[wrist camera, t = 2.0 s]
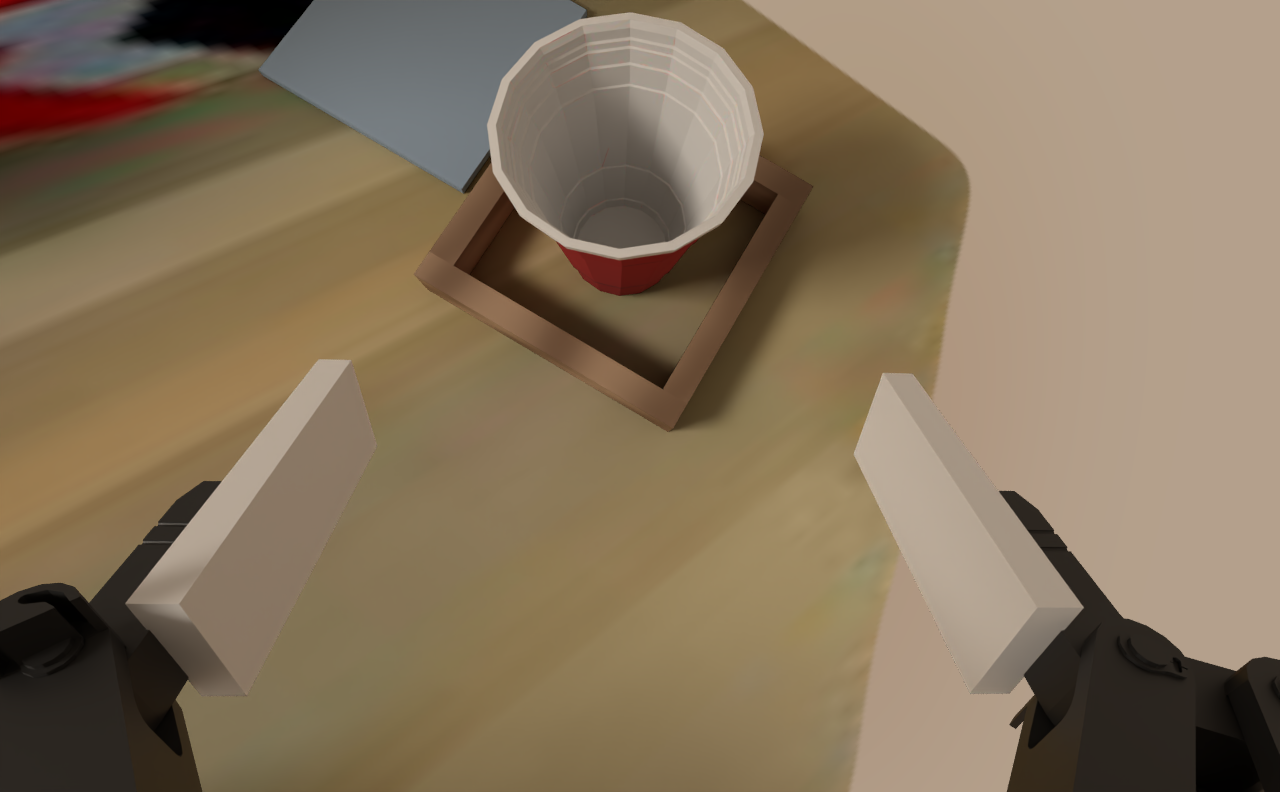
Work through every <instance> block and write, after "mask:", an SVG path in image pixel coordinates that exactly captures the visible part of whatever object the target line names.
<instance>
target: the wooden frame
mask: <svg viewBox="0 0 1280 792" xmlns="http://www.w3.org/2000/svg"><path fill="white" fill-rule="evenodd" d="M812 188H813V186H812V185H810V184H809V183H807V182H805V181H804V180H802V179H800V178H798V177H797V176H795V175H793V174H791V173H790V172H788V171H786V170H784V169H783V168H781V167H779V166H778V165H776V164H774V163H772V162H771V161H769V160H767V159H765V158H764V157H762V156H760V155H759V158H758V162H757V167H756V172H755V176H754V181H753V183H752V184H751V185H750V187H749V188H748V189H747V191H746V192H745V193H744V195H743V196H742V197H741V199H740V200H742V201H744V202H746V203H747V204H749V205H751V206H752V207H754V208H756V209H758V210H759V211H761V212H763V213H765V214H766V215H765V217H764V218H763V220H762V222H761V224H760V225H759V227H758V229H757V230H756V232H755V234H754V235H753V237H752V239H751V240H750V242H749V244H748V246H747V247H746V249H745V251H744V252H743V254H742V256H741V257H740V259H739V261H738V262H737V264H736V266H735V268H734V269H733V271H732V273H731V274H730V276H729V278H728V279H727V281H726V283H725V284H724V286H723V288H722V290H721V291H720V293H719V295H718V296H717V298H716V300H715V301H714V303H713V305H712V306H711V308H710V310H709V312H708V313H707V315H706V317H705V318H704V320H703V322H702V323H701V325H700V327H699V328H698V330H697V332H696V334H695V335H694V337H693V339H692V340H691V342H690V344H689V345H688V347H687V349H686V350H685V352H684V354H683V356H682V357H681V359H680V361H679V362H678V364H677V366H676V367H675V369H674V371H673V372H672V374H671V376H670V378H669V379H668V381H667V383H666V384H665V386H664V388H663V389H661V388H660V387H658V386H656V385H655V384H653V383H651V382H649V381H648V380H646V379H644V378H643V377H641V376H639V375H638V374H636V373H634V372H633V371H631V370H629V369H627V368H626V367H624V366H622V365H621V364H619V363H617V362H616V361H614V360H612V359H611V358H609V357H607V356H605V355H604V354H602V353H600V352H599V351H597V350H595V349H594V348H592V347H590V346H589V345H587V344H585V343H583V342H582V341H580V340H578V339H577V338H575V337H573V336H572V335H570V334H568V333H567V332H565V331H563V330H561V329H560V328H558V327H556V326H555V325H553V324H551V323H550V322H548V321H546V320H545V319H543V318H541V317H540V316H538V315H536V314H534V313H533V312H531V311H529V310H528V309H526V308H524V307H523V306H521V305H519V304H518V303H516V302H514V301H512V300H511V299H509V298H507V297H506V296H504V295H502V294H501V293H499V292H497V291H496V290H494V289H492V288H490V287H489V286H487V285H485V284H484V283H482V282H480V281H479V280H477V279H475V278H474V277H472V276H470V273H471V272H472V270H473V269H474V267H475V266H476V264H477V263H478V261H479V260H480V258H481V257H482V255H483V254H484V252H485V251H486V249H487V248H488V246H489V245H490V244H491V242H492V241H493V239H494V238H495V236H496V235H497V233H498V232H499V230H500V229H501V227H502V226H503V224H504V223H505V221H506V220H507V218H508V217H509V215H510V214H511V212H512V211H513V209H514V208H515V207H514V205H513V204H512V202H511V201H510V199H509V198H508V196H507V194H506V193H505V191H504V190H503V188H502V186H501V185H500V183H499V182H498V180H497V178H496V177H495V175H494V174H493V169H492V162H491V163H490V165H489V166H488V168H487V169H486V171H485V172H484V173H483V175H482V176H481V178H480V179H479V181H478V182H477V184H476V185H475V186H474V188H473V189H472V191H471V192H470V194H469V195H468V197H467V198H466V199H465V201H464V202H463V204H462V205H461V207H460V208H459V209H458V211H457V212H456V214H455V215H454V217H453V218H452V220H451V221H450V222H449V224H448V225H447V227H446V228H445V230H444V231H443V233H442V234H441V235H440V237H439V238H438V240H437V241H436V243H435V244H434V246H433V247H432V248H431V250H430V251H429V253H428V254H427V256H426V257H425V258H424V260H423V261H422V263H421V264H420V266H419V267H418V269H417V270H416V271H415V273H414V275H415V276H416V277H417V279H418V280H419V281H420V282H421V283H422V284H423V285H424V286H425V287H426V288H427V289H428V290H429V291H431V292H433V293H435V294H436V295H438V296H440V297H441V298H443V299H445V300H446V301H448V302H450V303H451V304H453V305H455V306H456V307H458V308H460V309H462V310H463V311H465V312H467V313H468V314H470V315H472V316H473V317H475V318H477V319H478V320H480V321H482V322H483V323H485V324H487V325H489V326H490V327H492V328H494V329H495V330H497V331H499V332H500V333H502V334H504V335H505V336H507V337H509V338H510V339H512V340H514V341H516V342H517V343H519V344H521V345H522V346H524V347H526V348H527V349H529V350H531V351H532V352H534V353H536V354H537V355H539V356H541V357H543V358H544V359H546V360H548V361H549V362H551V363H553V364H554V365H556V366H558V367H559V368H561V369H563V370H564V371H566V372H568V373H570V374H571V375H573V376H575V377H576V378H578V379H580V380H581V381H583V382H585V383H586V384H588V385H590V386H591V387H593V388H595V389H596V390H598V391H600V392H602V393H603V394H605V395H607V396H608V397H610V398H612V399H613V400H615V401H617V402H618V403H620V404H622V405H623V406H625V407H627V408H629V409H630V410H632V411H634V412H635V413H637V414H639V415H640V416H642V417H644V418H645V419H647V420H649V421H650V422H652V423H654V424H656V425H657V426H659V427H661V428H662V429H664V430H666V431H667V432H669V431H670V430H671V429H673V428H674V426H675V424H676V422H677V421H678V419H679V417H680V415H681V414H682V412H683V410H684V409H685V407H686V405H687V403H688V402H689V400H690V398H691V397H692V395H693V393H694V391H695V390H696V388H697V386H698V384H699V383H700V381H701V379H702V378H703V376H704V374H705V372H706V371H707V369H708V367H709V366H710V364H711V362H712V360H713V359H714V357H715V355H716V353H717V352H718V350H719V348H720V347H721V345H722V343H723V341H724V340H725V338H726V336H727V334H728V333H729V331H730V329H731V328H732V326H733V324H734V322H735V321H736V319H737V317H738V316H739V314H740V312H741V310H742V309H743V307H744V305H745V303H746V302H747V300H748V298H749V297H750V295H751V293H752V291H753V290H754V288H755V286H756V285H757V283H758V281H759V279H760V278H761V276H762V274H763V272H764V271H765V269H766V267H767V266H768V264H769V262H770V260H771V259H772V257H773V255H774V254H775V252H776V250H777V248H778V247H779V245H780V243H781V241H782V240H783V238H784V236H785V235H786V233H787V231H788V229H789V228H790V226H791V224H792V222H793V221H794V219H795V217H796V216H797V214H798V212H799V210H800V209H801V207H802V205H803V204H804V202H805V200H806V198H807V197H808V195H809V193H810V191H811V190H812Z"/></svg>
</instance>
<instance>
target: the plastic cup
mask: <svg viewBox="0 0 1280 792" xmlns="http://www.w3.org/2000/svg"><path fill="white" fill-rule="evenodd" d="M487 129H488V137H489V145H490V153H491V161H492V169H493V174H494V175H495V177H496V178H497V180H498V182H499V183H500V185H501V186H502V188H503V190H504V191H505V193H506V194H507V196H508V198H509V199H510V201H511V202H512V204H513V205H514V207H515V209H516V210H517V212H518V213H519V215H520V216H521V217H522V218H523V219H525V220H526V221H528V222H529V223H530V224H532V225H533V226H535V227H536V228H538V229H539V230H541V231H542V232H544V233H545V234H547V235H548V236H549V237H551V238H552V239H554V240H555V241H556V242H557V243H558V245H559V246H560V248H561V249H562V251H563V252H564V254H565V255H566V257H567V258H568V259H569V261H570V262H571V264H572V265H573V267H574V268H576V269H577V270H578V271H579V273H580V275H581V276H582V278H583V279H584V280H586V281H587V282H588V283H590V284H591V285H593V286H594V287H595V288H597V289H598V290H600V291H603V292H607V293H611V294H615V295H619V296H622V295H629V294H636V293H641V292H642V291H644V290H646V289H648V288H649V287H651V286H653V285H655V284H656V283H658V282H659V281H660V279H661V278H662V277H663V276H664V275H665V274H667V273H669V271H670V270H671V269H672V268H673V266H674V265H675V264H676V263H677V262H678V260H679V259H680V258H681V257H682V255H683V254H684V253H685V252H686V251H687V249H688V248H689V247H690V246H691V245H692V244H694V243H695V242H696V241H697V240H698V239H699V237H701V236H703V235H704V234H706V233H708V232H710V231H711V230H713V229H715V228H717V227H718V226H719V225H720V224H721V223H722V222H723V221H724V220H725V219H726V217H727V216H728V215H729V213H730V212H731V211H732V209H733V208H734V207H735V205H736V204H737V203H738V201H739V200H740V199H741V197H742V196H743V195H744V193H745V192H746V191H747V189H748V188H749V187H750V185H751V184H752V183H753V181H754V176H755V172H756V167H757V162H758V158H759V153H760V149H761V144H762V139H763V135H764V133H763V129H762V124H761V120H760V116H759V111H758V107H757V103H756V99H755V94H754V90H753V87H752V85H751V84H750V83H749V81H748V80H747V79H746V77H745V76H744V75H743V73H742V72H741V71H740V69H739V68H738V67H737V66H736V64H735V63H734V62H733V60H732V59H731V58H730V56H729V55H728V54H727V52H726V51H725V50H724V48H722V47H720V46H719V45H717V44H715V43H714V42H712V41H711V40H709V39H707V38H706V37H704V36H702V35H701V34H699V33H697V32H696V31H694V30H692V29H691V28H689V27H688V26H686V25H684V24H683V23H681V22H676V21H671V20H666V19H661V18H656V17H651V16H646V15H641V14H637V13H632V12H629V13H621V14H614V15H607V16H599V17H592V18H585V19H579V20H577V21H575V22H573V23H571V24H569V25H567V26H565V27H563V28H561V29H559V30H558V31H556V32H554V33H552V34H550V35H548V36H546V37H544V38H542V39H540V40H538V41H536V42H534V43H533V45H532V46H531V47H530V48H529V49H528V50H527V51H526V53H525V54H524V55H523V56H522V57H521V58H520V59H519V60H518V62H517V63H516V64H515V65H514V66H513V67H512V68H511V69H510V71H509V72H508V73H507V74H506V75H505V76H504V77H503V79H502V80H501V83H500V87H499V90H498V93H497V96H496V99H495V102H494V105H493V108H492V111H491V114H490V117H489V120H488V123H487Z"/></svg>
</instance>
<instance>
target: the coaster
mask: <svg viewBox="0 0 1280 792" xmlns="http://www.w3.org/2000/svg"><path fill="white" fill-rule="evenodd" d="M586 17H587V10H586V9H584V8H583V7H581V6H579V5H577V4H576V3H574V2H572V1H570V0H314V1H313V2H312V3H311V4H310V6H309V7H308V8H307V9H306V11H305V12H304V13H303V14H302V16H301V17H300V18H299V19H298V21H297V22H296V23H295V25H294V26H293V27H292V28H291V30H290V31H289V32H288V33H287V35H286V36H285V37H284V38H283V40H282V41H281V42H280V43H279V45H278V46H277V47H276V48H275V50H274V51H273V52H272V53H271V55H270V56H269V57H268V58H267V60H266V61H265V62H264V63H263V65H262V66H261V67H260V68H259V71H260V73H261V74H262V75H263V76H264V77H266V78H268V79H269V80H271V81H273V82H275V83H276V84H278V85H280V86H281V87H283V88H285V89H287V90H288V91H290V92H292V93H293V94H295V95H297V96H298V97H300V98H302V99H304V100H305V101H307V102H309V103H310V104H312V105H314V106H315V107H317V108H319V109H321V110H322V111H324V112H326V113H327V114H329V115H331V116H332V117H334V118H336V119H338V120H339V121H341V122H343V123H344V124H346V125H348V126H350V127H351V128H353V129H355V130H356V131H358V132H360V133H361V134H363V135H365V136H367V137H368V138H370V139H372V140H373V141H375V142H377V143H378V144H380V145H382V146H384V147H385V148H387V149H389V150H390V151H392V152H394V153H395V154H397V155H399V156H401V157H402V158H404V159H406V160H407V161H409V162H411V163H412V164H414V165H416V166H418V167H419V168H421V169H423V170H424V171H426V172H428V173H430V174H431V175H433V176H435V177H436V178H438V179H440V180H441V181H443V182H445V183H447V184H448V185H450V186H452V187H453V188H455V189H457V190H458V191H460V192H462V193H464V192H465V191H466V189H467V188H468V187H469V185H470V184H471V182H472V181H473V179H474V178H475V176H476V175H477V174H478V172H479V171H480V169H481V168H482V166H483V165H484V164H485V162H486V161H487V159H488V158H489V156H490V155H491V153H490V145H489V137H488V129H487V123H488V120H489V117H490V114H491V111H492V108H493V105H494V102H495V99H496V96H497V93H498V90H499V87H500V83H501V80H502V79H503V77H504V76H505V75H506V74H507V73H508V72H509V71H510V69H511V68H512V67H513V66H514V65H515V64H516V63H517V62H518V60H519V59H520V58H521V57H522V56H523V55H524V54H525V53H526V51H527V50H528V49H529V48H530V47H531V46H532V45H533V43H534V42H536V41H538V40H540V39H542V38H544V37H546V36H548V35H550V34H552V33H554V32H556V31H558V30H559V29H561V28H563V27H565V26H567V25H569V24H571V23H573V22H575V21H577V20H579V19H585V18H586Z"/></svg>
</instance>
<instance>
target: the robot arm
mask: <svg viewBox="0 0 1280 792" xmlns="http://www.w3.org/2000/svg"><path fill="white" fill-rule="evenodd" d="M376 447H377V444H376V440H375V437H374V434H373V430H372V427H371V424H370V421H369V417H368V414H367V411H366V407H365V404H364V401H363V397H362V394H361V391H360V387H359V384H358V381H357V378H356V374H355V371H354V368H353V364H352V361H351V360H326V359H319V360H318V361H317V362H316V363H315V365H314V366H313V367H312V368H311V370H310V371H309V372H308V373H307V375H306V376H305V377H304V378H303V380H302V381H301V382H300V384H299V385H298V386H297V387H296V389H295V390H294V391H293V392H292V394H291V395H290V396H289V397H288V399H287V400H286V401H285V402H284V404H283V405H282V406H281V408H280V409H279V410H278V411H277V413H276V414H275V415H274V416H273V418H272V419H271V420H270V421H269V423H268V424H267V425H266V426H265V428H264V429H263V430H262V431H261V433H260V434H259V435H258V437H257V438H256V439H255V440H254V442H253V443H252V444H251V445H250V447H249V448H248V449H247V450H246V452H245V453H244V454H243V455H242V457H241V458H240V459H239V461H238V462H237V463H236V464H235V466H234V467H233V468H232V469H231V471H230V472H229V473H228V474H227V476H226V477H225V478H224V479H223V481H203V482H202V483H200V484H199V485H197V486H196V487H195V488H193V489H192V490H190V491H189V492H188V493H186V494H185V495H183V496H182V497H180V498H179V499H178V500H176V502H175V503H174V504H173V505H172V506H171V507H170V509H169V510H168V511H167V512H166V513H165V514H164V516H163V517H162V518H161V519H160V520H159V522H158V526H154V527H153V529H152V530H151V531H150V532H149V533H148V534H147V536H146V537H145V538H144V539H143V544H142V545H138V546H137V547H136V549H135V550H134V551H133V552H132V553H131V554H130V556H129V557H128V558H127V559H126V560H125V562H124V563H123V564H122V565H121V566H120V567H119V569H118V570H117V571H116V572H115V573H114V574H113V576H112V577H111V578H110V579H109V580H108V581H107V583H106V584H105V585H104V586H103V587H102V589H101V590H100V591H99V592H98V593H97V594H96V596H95V597H94V598H93V599H92V600H91V601H90V603H88V602H87V600H86V599H85V598H84V597H83V596H82V595H81V594H80V593H79V591H78V590H77V589H76V588H75V587H73V586H70V585H66V584H63V583H52V584H41V585H38V586H35V587H31V588H28V589H25V590H22V591H19V592H17V593H15V594H13V595H11V596H9V597H7V598H5V599H3V600H1V601H0V792H202V788H201V784H200V780H199V776H198V772H197V768H196V764H195V760H194V756H193V752H192V748H191V744H190V740H189V736H188V732H187V728H186V724H185V720H184V716H183V712H182V709H181V707H180V706H179V704H178V703H177V701H176V700H175V699H176V698H177V696H178V694H179V693H180V691H181V690H182V688H183V686H184V685H185V683H186V681H187V680H189V681H190V682H191V684H192V685H193V686H194V687H195V689H196V690H197V691H198V692H199V693H200V695H201V696H247V695H248V693H249V691H250V689H251V687H252V685H253V683H254V681H255V679H256V678H257V676H258V674H259V672H260V670H261V668H262V666H263V664H264V662H265V660H266V658H267V656H268V655H269V653H270V651H271V649H272V647H273V645H274V643H275V641H276V639H277V637H278V635H279V633H280V632H281V630H282V628H283V626H284V624H285V622H286V620H287V618H288V616H289V614H290V612H291V610H292V609H293V607H294V605H295V603H296V601H297V599H298V597H299V595H300V593H301V591H302V589H303V587H304V585H305V584H306V582H307V580H308V578H309V576H310V574H311V572H312V570H313V568H314V566H315V564H316V562H317V561H318V559H319V557H320V555H321V553H322V551H323V549H324V547H325V545H326V543H327V541H328V539H329V538H330V536H331V534H332V532H333V530H334V528H335V526H336V524H337V522H338V520H339V518H340V516H341V515H342V513H343V511H344V509H345V507H346V505H347V503H348V501H349V499H350V497H351V495H352V493H353V492H354V490H355V488H356V486H357V484H358V482H359V480H360V478H361V476H362V474H363V472H364V470H365V469H366V467H367V465H368V463H369V461H370V459H371V457H372V455H373V453H374V451H375V449H376ZM854 456H855V458H856V460H857V462H858V464H859V466H860V468H861V470H862V472H863V474H864V476H865V479H866V481H867V483H868V485H869V487H870V489H871V491H872V493H873V495H874V497H875V499H876V501H877V503H878V505H879V507H880V509H881V512H882V514H883V516H884V518H885V520H886V522H887V524H888V526H889V528H890V530H891V532H892V534H893V536H894V538H895V540H896V542H897V544H898V547H899V549H900V551H901V553H902V555H903V557H904V559H905V561H906V563H907V565H908V567H909V569H910V571H911V573H912V575H913V577H914V580H915V582H916V583H917V586H918V588H919V590H920V592H921V594H922V596H923V598H924V600H925V602H926V604H927V606H928V608H929V610H930V612H931V614H932V616H933V619H934V621H935V623H936V625H937V627H938V629H939V631H940V633H941V635H942V637H943V639H944V641H945V643H946V645H947V648H948V650H949V651H950V654H951V656H952V658H953V660H954V662H955V664H956V666H957V668H958V670H959V672H960V674H961V676H962V678H963V680H964V683H965V685H966V687H967V689H968V691H969V693H970V694H984V693H985V694H991V693H994V694H995V693H996V694H999V693H1001V694H1003V693H1010V692H1011V691H1012V690H1013V689H1014V688H1015V686H1016V685H1017V684H1018V683H1019V682H1020V681H1021V680H1022V678H1023V677H1025V678H1026V680H1027V682H1028V684H1029V685H1030V687H1031V689H1032V690H1033V692H1034V694H1035V695H1034V696H1033V697H1032V698H1031V699H1030V700H1029V702H1028V703H1027V704H1026V705H1025V706H1024V707H1023V708H1022V709H1021V710H1020V711H1019V712H1018V713H1017V714H1016V716H1015V717H1014V718H1013V720H1012V721H1011V723H1010V725H1011V726H1012V727H1014V728H1015V729H1016V728H1017V727H1018V726H1019V725H1020V724H1021V723H1022V722H1023V721H1024V722H1023V726H1022V730H1021V734H1020V739H1019V743H1018V747H1017V752H1016V756H1015V760H1014V764H1013V768H1012V772H1011V777H1010V781H1009V785H1008V790H1007V792H1280V660H1277V659H1272V658H1268V657H1262V658H1255V659H1252V660H1251V661H1249V662H1248V663H1247V664H1245V665H1244V666H1243V667H1241V668H1240V669H1239V670H1238V671H1234V670H1230V669H1227V668H1223V667H1220V666H1216V665H1212V664H1209V663H1205V662H1202V661H1198V660H1194V659H1191V658H1187V657H1184V655H1183V654H1182V652H1181V651H1180V650H1179V649H1178V648H1177V647H1176V646H1174V645H1173V644H1172V643H1171V642H1170V641H1169V640H1168V639H1167V638H1165V637H1164V636H1163V635H1161V634H1159V633H1158V632H1156V631H1154V630H1153V629H1151V628H1149V627H1148V626H1146V625H1143V624H1140V623H1138V622H1135V621H1133V620H1130V619H1124V618H1123V617H1122V616H1121V615H1120V614H1119V613H1118V612H1117V610H1116V609H1115V608H1114V606H1113V605H1112V604H1111V602H1110V601H1109V600H1108V599H1107V597H1106V596H1105V595H1104V594H1103V592H1102V591H1101V590H1100V588H1099V587H1098V586H1097V585H1096V583H1095V582H1094V581H1093V579H1092V578H1091V577H1090V576H1089V574H1088V573H1087V572H1086V570H1085V569H1084V568H1083V567H1082V565H1081V564H1080V563H1079V562H1078V560H1077V559H1076V558H1075V557H1074V555H1073V554H1072V553H1071V552H1068V551H1067V546H1066V545H1065V544H1064V542H1063V541H1062V540H1061V539H1060V537H1059V536H1058V535H1057V534H1054V530H1053V528H1052V527H1051V526H1050V524H1049V523H1048V522H1047V520H1046V519H1045V518H1044V517H1043V515H1042V514H1041V513H1040V512H1039V510H1038V509H1037V508H1035V507H1034V506H1033V505H1032V504H1030V503H1029V502H1027V501H1026V500H1025V499H1024V498H1022V497H1021V496H1020V495H1019V494H1017V493H1016V492H1015V491H998V490H997V488H996V487H995V486H994V484H993V483H992V481H991V480H990V479H989V477H988V476H987V475H986V473H985V472H984V471H983V469H982V468H981V466H980V465H979V464H978V462H977V461H976V460H975V458H974V457H973V456H972V454H971V453H970V452H969V450H968V449H967V447H966V446H965V445H964V443H963V442H962V441H961V439H960V438H959V436H958V435H957V434H956V432H955V431H954V430H953V428H952V427H951V426H950V424H949V423H948V421H947V420H946V419H945V417H944V416H943V415H942V413H941V412H940V410H939V409H938V408H937V406H936V405H935V404H934V402H933V401H932V400H931V398H930V397H929V395H928V394H927V393H926V391H925V390H924V389H923V387H922V386H921V384H920V383H919V382H918V380H917V379H916V378H915V376H914V375H913V374H907V373H883V374H882V377H881V380H880V383H879V385H878V388H877V391H876V394H875V396H874V399H873V402H872V405H871V408H870V410H869V413H868V416H867V419H866V421H865V424H864V427H863V430H862V433H861V435H860V438H859V441H858V444H857V446H856V449H855V452H854Z"/></svg>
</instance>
